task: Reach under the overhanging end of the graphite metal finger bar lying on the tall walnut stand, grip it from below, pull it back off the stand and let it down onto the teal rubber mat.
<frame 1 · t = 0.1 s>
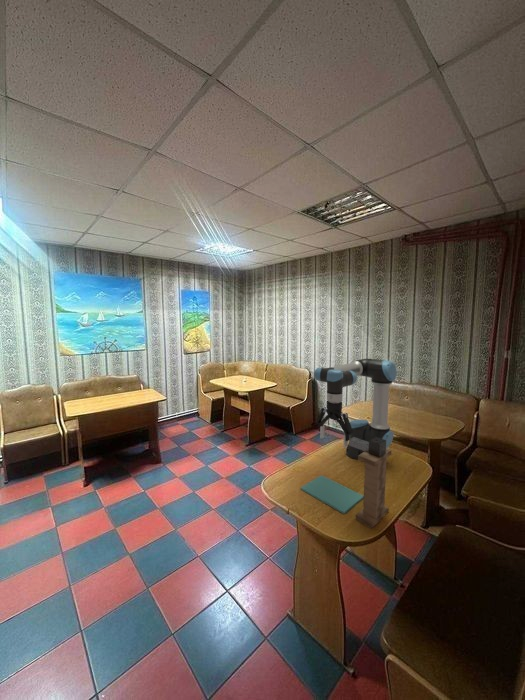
hand: (333, 442, 143), 28 cm above the table, tool pointing down, fingers open, 13 cm apart
walnut stand: (372, 515, 131), on the table
teal mat: (331, 493, 147), on the table
finger bar: (366, 449, 130), point 30 cm above the table, touching walnut stand
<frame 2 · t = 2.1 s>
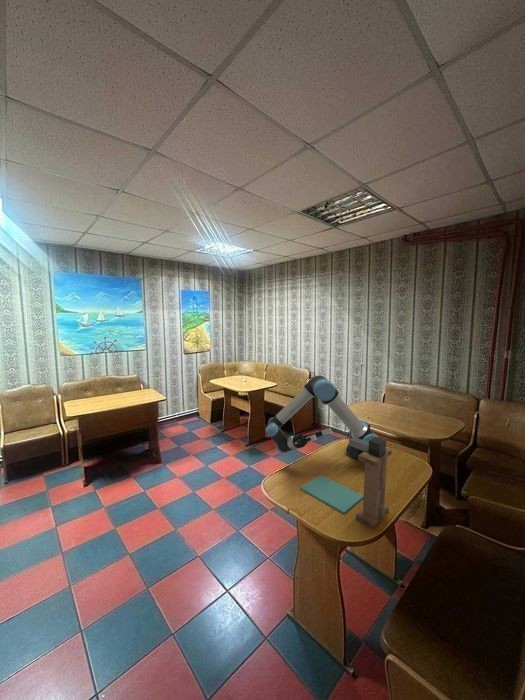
hand: (323, 433, 151), 29 cm above the table, tool pointing upward, fingers open, 13 cm apart
nothing on the table moved.
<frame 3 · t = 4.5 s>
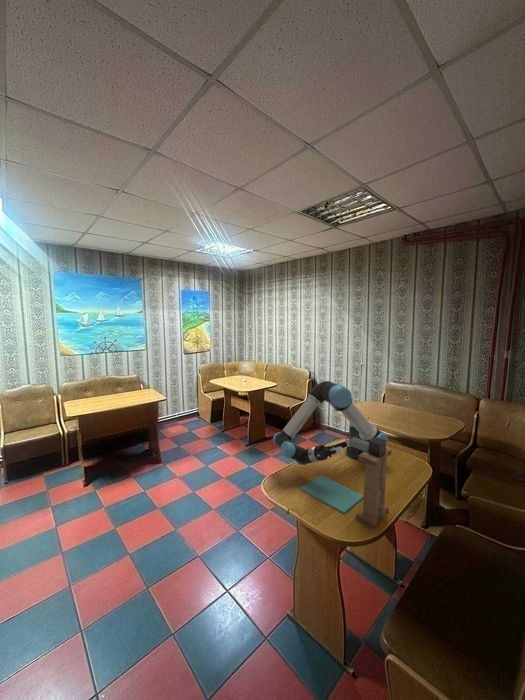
hand: (349, 445, 136), 30 cm above the table, tool pointing upward, fingers open, 13 cm apart
nothing on the table moved.
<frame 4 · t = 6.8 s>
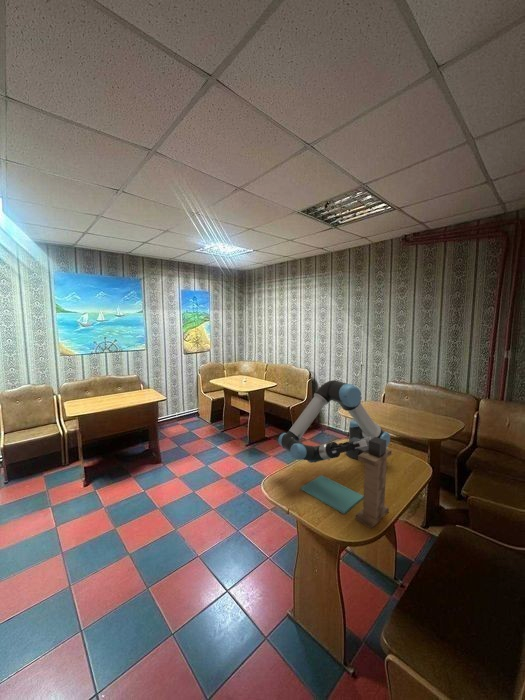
hand: (368, 441, 129), 34 cm above the table, tool pointing upward, fingers closed on finger bar, 4 cm apart
finger bar: (366, 449, 130), point 30 cm above the table, touching gripper, walnut stand
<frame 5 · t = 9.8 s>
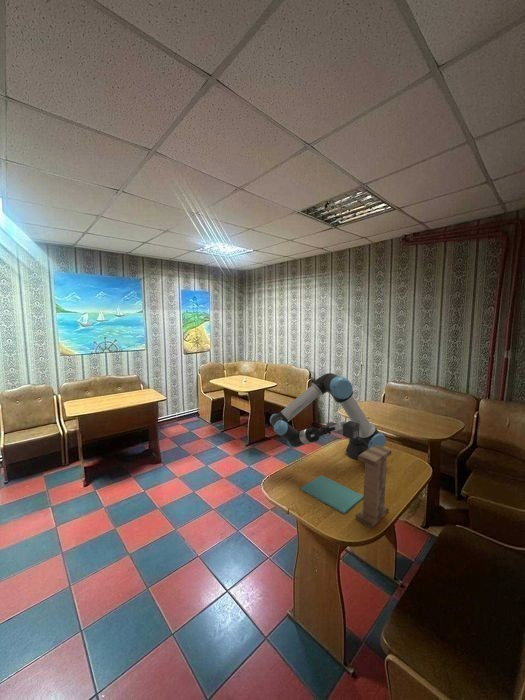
hand: (343, 424, 138), 38 cm above the table, tool pointing upward, fingers closed on finger bar, 4 cm apart
finger bar: (341, 432, 140), point 34 cm above the table, touching gripper
when the fingers open (25 cm above the table, at t = 12.9 s): finger bar drops 19 cm, resting on teal mat.
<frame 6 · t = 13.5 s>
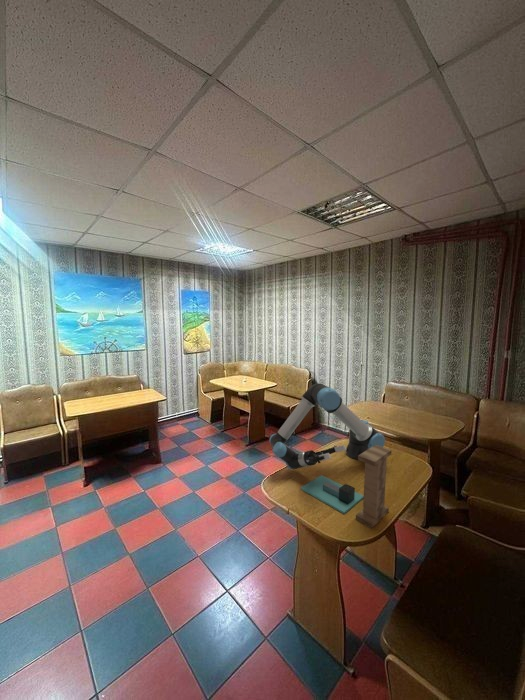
hand: (337, 451, 142), 24 cm above the table, tool pointing upward, fingers open, 13 cm apart
finger bar: (337, 494, 144), point 1 cm above the table, touching teal mat
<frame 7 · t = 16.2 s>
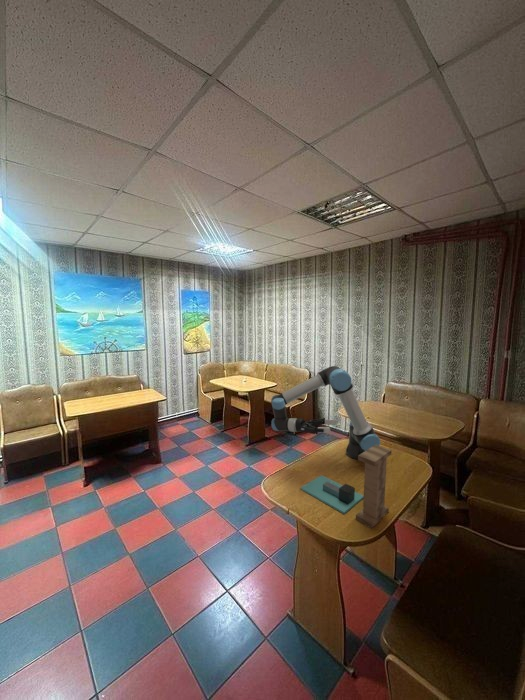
hand: (333, 426, 156), 31 cm above the table, tool horizontal, fingers open, 13 cm apart
nothing on the table moved.
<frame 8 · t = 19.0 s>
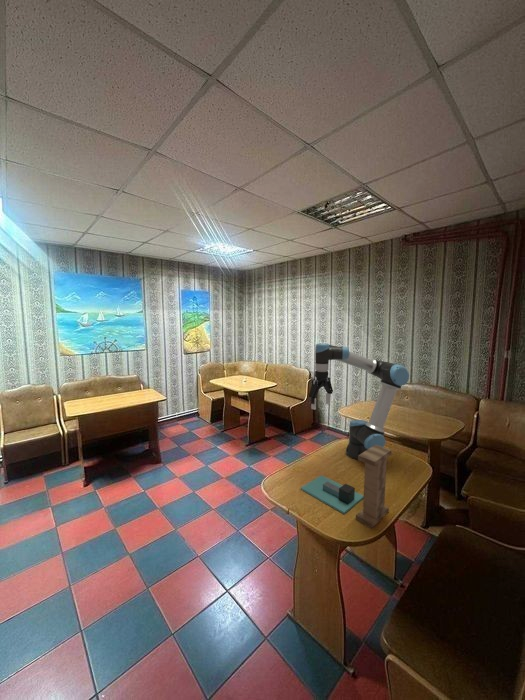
hand: (320, 406, 165), 39 cm above the table, tool pointing down, fingers open, 13 cm apart
nothing on the table moved.
at the end: finger bar inside the target area (1.6 cm from its centre), point 1.0 cm above the table; finger bar touching teal mat; the gripper is holding nothing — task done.
